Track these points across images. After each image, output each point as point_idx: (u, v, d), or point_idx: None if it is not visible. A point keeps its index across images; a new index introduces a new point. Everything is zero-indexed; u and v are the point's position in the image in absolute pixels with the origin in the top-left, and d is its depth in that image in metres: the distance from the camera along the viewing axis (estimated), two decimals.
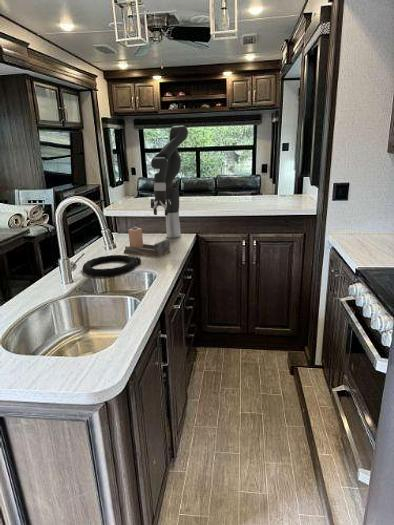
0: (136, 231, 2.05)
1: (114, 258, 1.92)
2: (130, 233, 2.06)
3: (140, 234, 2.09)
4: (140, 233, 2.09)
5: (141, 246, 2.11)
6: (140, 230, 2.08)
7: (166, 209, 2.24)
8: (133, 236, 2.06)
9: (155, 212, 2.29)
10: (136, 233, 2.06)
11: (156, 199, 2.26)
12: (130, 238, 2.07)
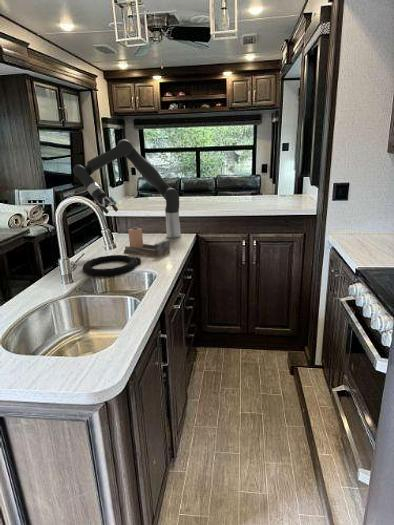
0: (136, 231, 2.05)
1: (114, 258, 1.92)
2: (130, 233, 2.06)
3: (140, 234, 2.09)
4: (140, 233, 2.09)
5: (141, 246, 2.11)
6: (140, 230, 2.08)
7: (101, 208, 2.09)
8: (133, 236, 2.06)
9: (114, 209, 2.16)
10: (136, 233, 2.06)
11: None
12: (130, 238, 2.07)
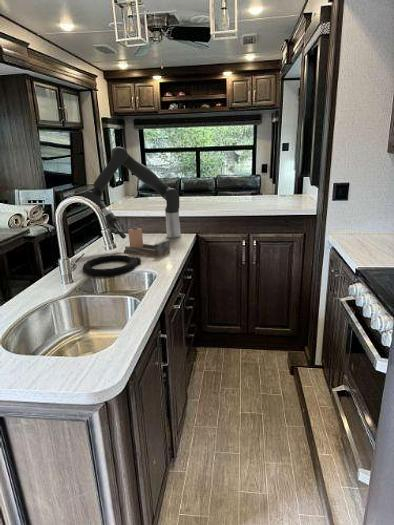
0: (136, 231, 2.05)
1: (114, 258, 1.92)
2: (130, 233, 2.06)
3: (140, 234, 2.09)
4: (140, 233, 2.09)
5: (141, 246, 2.11)
6: (140, 230, 2.08)
7: (118, 234, 2.14)
8: (133, 236, 2.06)
9: None
10: (136, 233, 2.06)
11: None
12: (130, 238, 2.07)
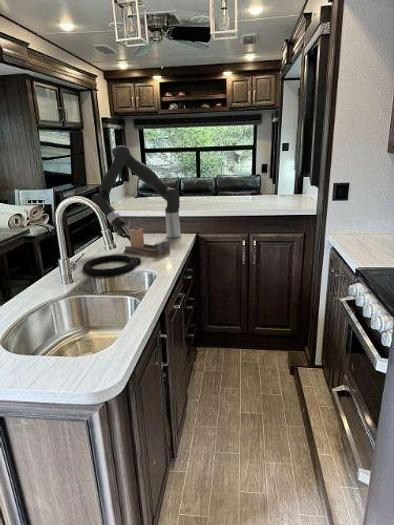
0: (137, 231, 2.05)
1: (114, 258, 1.92)
2: (131, 233, 2.06)
3: (141, 234, 2.08)
4: (141, 233, 2.09)
5: (142, 246, 2.10)
6: (141, 230, 2.08)
7: (127, 237, 2.11)
8: (134, 236, 2.05)
9: None
10: (137, 233, 2.05)
11: None
12: (131, 238, 2.07)
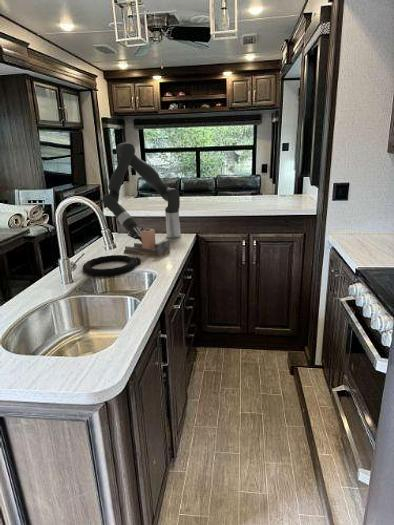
0: (149, 232, 2.01)
1: (114, 258, 1.92)
2: (143, 234, 2.02)
3: (153, 235, 2.04)
4: (153, 234, 2.05)
5: (153, 248, 2.06)
6: (153, 231, 2.04)
7: (138, 239, 2.07)
8: (146, 237, 2.01)
9: None
10: (149, 234, 2.01)
11: None
12: (143, 239, 2.03)
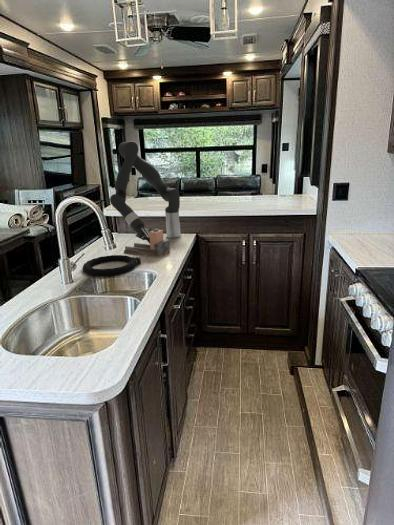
0: (157, 233, 1.98)
1: (114, 258, 1.92)
2: (151, 235, 1.99)
3: (161, 236, 2.01)
4: (161, 235, 2.02)
5: None
6: (161, 232, 2.01)
7: (146, 239, 2.04)
8: (154, 238, 1.98)
9: None
10: (158, 235, 1.98)
11: None
12: (151, 240, 2.00)
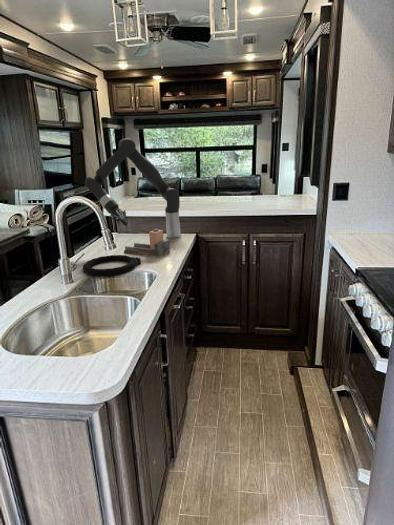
0: (157, 233, 1.98)
1: (114, 258, 1.92)
2: (151, 235, 1.99)
3: (161, 236, 2.01)
4: (161, 235, 2.02)
5: None
6: (161, 232, 2.01)
7: (120, 221, 2.10)
8: (154, 238, 1.98)
9: None
10: (157, 235, 1.98)
11: None
12: (151, 240, 2.00)
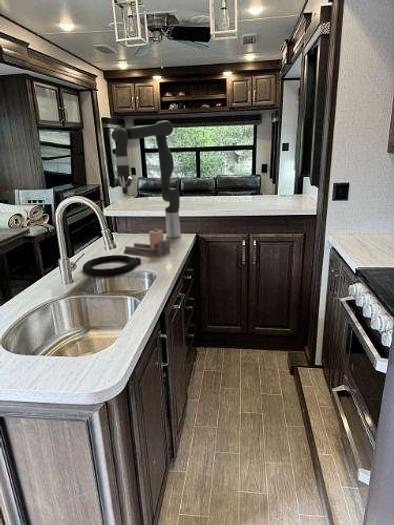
0: (157, 233, 1.98)
1: (114, 258, 1.92)
2: (151, 235, 1.99)
3: (161, 236, 2.01)
4: (161, 235, 2.02)
5: None
6: (161, 232, 2.01)
7: (125, 187, 2.12)
8: (154, 238, 1.98)
9: None
10: (157, 235, 1.98)
11: (118, 174, 2.11)
12: (151, 240, 2.00)
